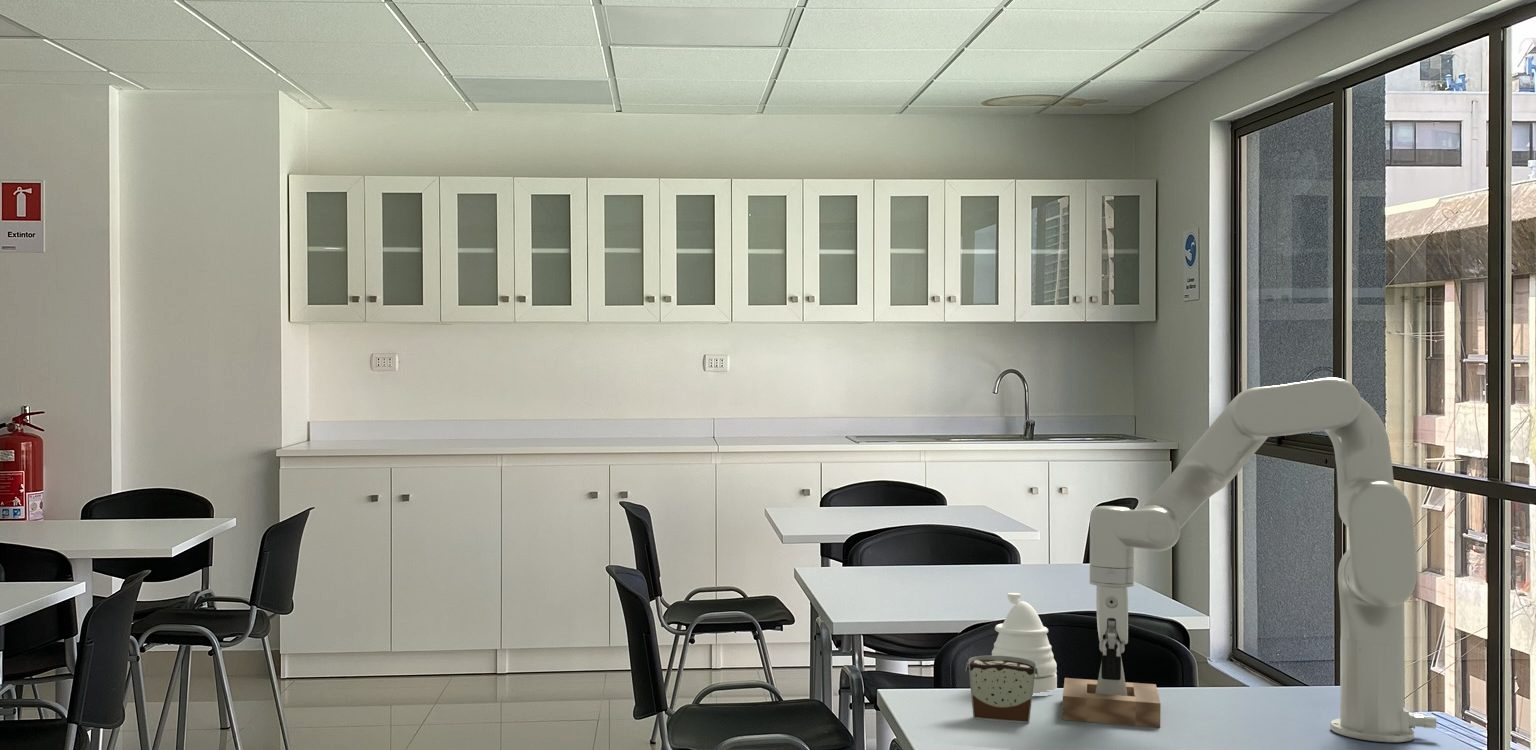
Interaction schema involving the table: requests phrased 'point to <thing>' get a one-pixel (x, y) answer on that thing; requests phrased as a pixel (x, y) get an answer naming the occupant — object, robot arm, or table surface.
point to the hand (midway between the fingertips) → (1110, 674)
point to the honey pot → (1027, 642)
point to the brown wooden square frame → (1111, 704)
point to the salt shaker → (1112, 685)
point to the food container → (1001, 687)
